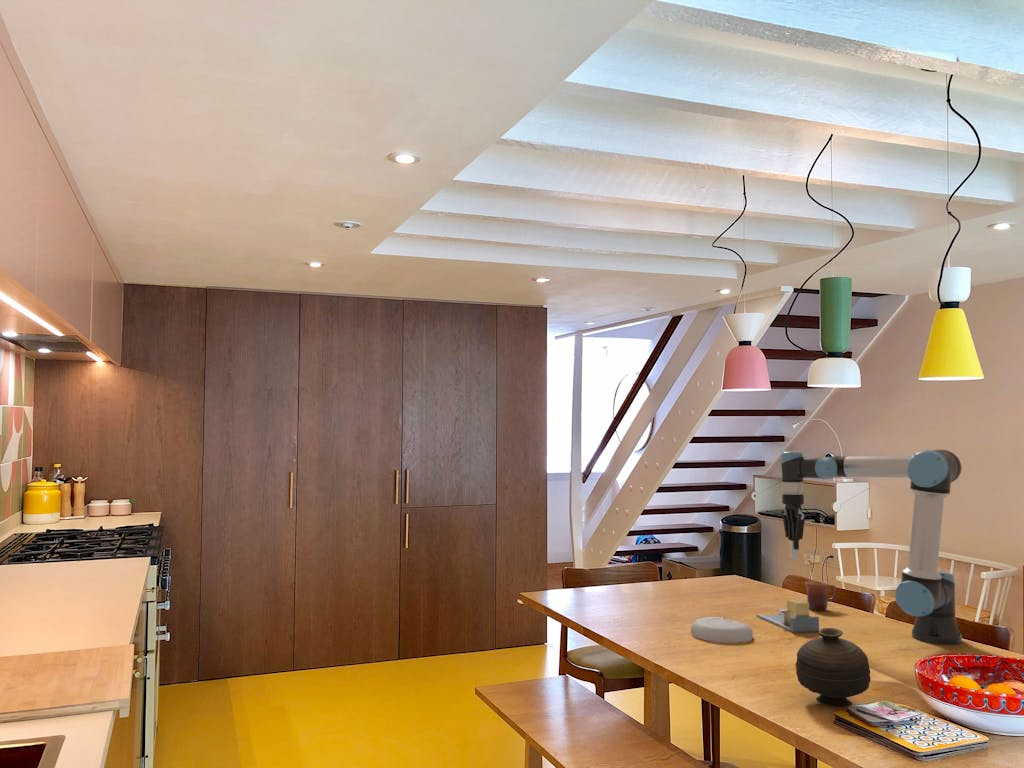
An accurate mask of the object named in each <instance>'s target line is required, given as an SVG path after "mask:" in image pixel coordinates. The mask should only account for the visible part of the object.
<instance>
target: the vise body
mask: <svg viewBox="0 0 1024 768" xmlns="http://www.w3.org/2000/svg"><path fill="white" fill-rule="evenodd" d="M756 618H759V619H761V620H763V621H766V622H768V623H770V624H773V625H774V626H777V627H779V628H781V629H784V630H786V631H788V632H790V633H818V632H819V631H820V617H819V616H817V615H809V616H799V617H790V627H789V626H787V625H784V624H781V613H780V612H778V613H774V614H760V613H756Z"/></svg>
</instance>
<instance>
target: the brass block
mask: <svg viewBox="0 0 1024 768" xmlns="http://www.w3.org/2000/svg"><path fill="white" fill-rule="evenodd" d="M786 609H787V626H789V627H790V617H799V616H810V609H809V603H808V602H807V601H806V600H802V599H799V598H798V599H787V600H786Z"/></svg>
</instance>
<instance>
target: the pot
mask: <svg viewBox="0 0 1024 768" xmlns="http://www.w3.org/2000/svg"><path fill="white" fill-rule="evenodd" d="M817 635H819V636H821V637H816V638H812V639H811V640H808V641H806V642H805V643H804V644H802V646H800V647H799V648H798V651H797V652H796V661H795V664H794V666H795V673H796V676H797V680H798V683H799V684H800V685H801V686H802V687H804V688H806V689H808V691H809V692H812V693H814V694H818V696H817V697H816V698H815V700H816V701H817V702H818V703H820V704H821V705H822V704H823V705H824V706H830V707H839V708H845V707H850V706H849V705H851V706H852V705H853V702H852V701H851V700H849V698H850V697H856V696H859V695H860V694H863V693H864V692H866V691H867V690H868V689H869V687H870V682H871V669H870V664H869V658H868V656H867V654H866V653H865V651H864V650H863V649H862V648H860V646H859V645H856V644H855V643H854V642H852V641H850V640H847V639H845V638H841V637H842V635H843V630H841V629H838V628H836V627H834V628H833V627H823V628H821V629H819V632H817Z"/></svg>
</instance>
